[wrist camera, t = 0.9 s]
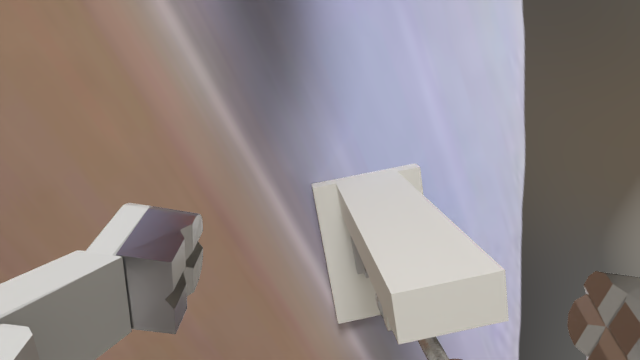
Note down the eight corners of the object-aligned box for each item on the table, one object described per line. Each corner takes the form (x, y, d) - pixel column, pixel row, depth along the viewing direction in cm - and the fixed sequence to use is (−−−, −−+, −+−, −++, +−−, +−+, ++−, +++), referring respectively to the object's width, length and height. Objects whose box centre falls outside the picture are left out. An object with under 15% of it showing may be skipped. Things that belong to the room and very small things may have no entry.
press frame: (431, 295, 65) (555, 483, 37) (336, 316, 65) (387, 523, 36) (415, 163, 60) (546, 261, 31) (311, 183, 59) (347, 303, 30)
